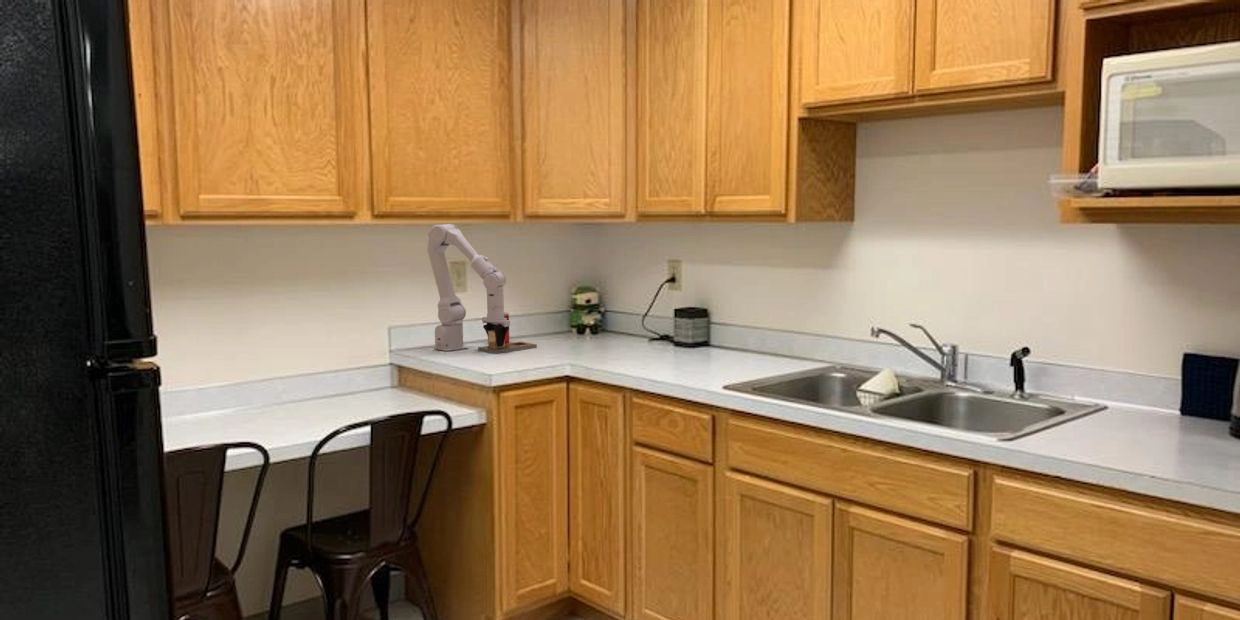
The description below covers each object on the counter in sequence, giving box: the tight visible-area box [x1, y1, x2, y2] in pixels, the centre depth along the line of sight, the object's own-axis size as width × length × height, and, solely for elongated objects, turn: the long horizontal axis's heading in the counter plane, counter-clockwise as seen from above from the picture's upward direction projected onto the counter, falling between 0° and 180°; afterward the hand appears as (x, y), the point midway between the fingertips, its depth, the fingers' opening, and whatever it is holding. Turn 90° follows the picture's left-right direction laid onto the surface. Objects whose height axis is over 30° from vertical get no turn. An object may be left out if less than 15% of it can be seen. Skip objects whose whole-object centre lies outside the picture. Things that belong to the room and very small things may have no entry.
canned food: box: [486, 311, 510, 343], centre depth 334 cm, size 8×8×11 cm
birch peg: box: [487, 330, 505, 349], centre depth 316 cm, size 4×4×7 cm
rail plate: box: [477, 340, 538, 355], centre depth 319 cm, size 18×10×1 cm, turn 131°
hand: (496, 345), depth 316 cm, fingers closed on birch peg, 4 cm apart
